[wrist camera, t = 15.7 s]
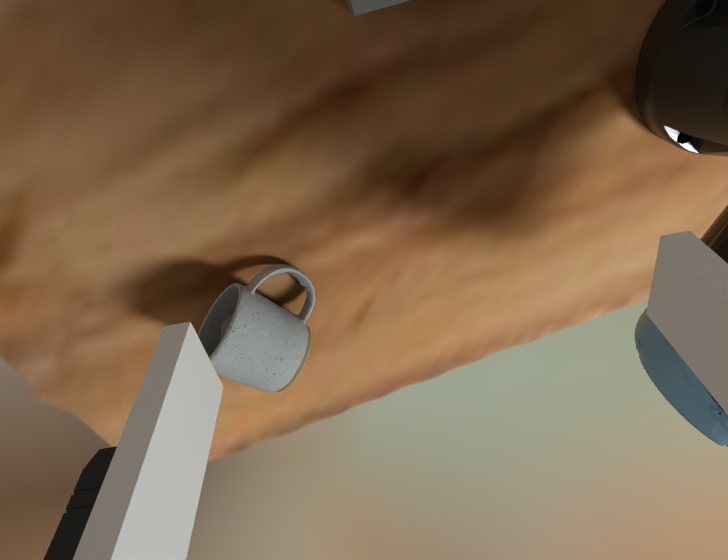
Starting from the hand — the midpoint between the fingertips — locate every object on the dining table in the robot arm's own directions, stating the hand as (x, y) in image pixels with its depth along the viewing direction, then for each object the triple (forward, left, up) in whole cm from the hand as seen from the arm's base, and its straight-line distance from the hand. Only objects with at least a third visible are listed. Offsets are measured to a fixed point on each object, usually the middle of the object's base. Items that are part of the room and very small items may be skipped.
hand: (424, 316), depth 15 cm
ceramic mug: (+12, +17, -28) cm, 34 cm away
